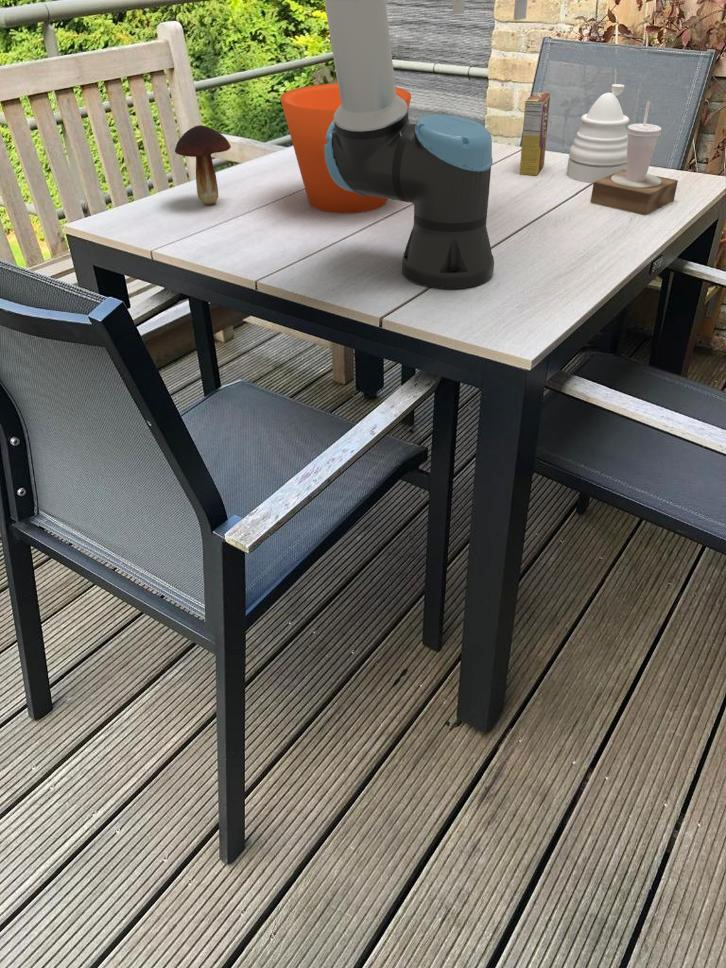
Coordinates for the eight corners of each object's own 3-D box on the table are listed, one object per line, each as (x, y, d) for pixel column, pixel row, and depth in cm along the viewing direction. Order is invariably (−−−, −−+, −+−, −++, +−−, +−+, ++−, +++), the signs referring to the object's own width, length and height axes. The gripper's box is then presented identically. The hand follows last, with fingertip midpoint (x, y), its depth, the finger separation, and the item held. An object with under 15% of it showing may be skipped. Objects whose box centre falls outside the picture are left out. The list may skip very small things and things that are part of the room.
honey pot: (608, 165, 188) (622, 78, 177) (637, 180, 178) (653, 89, 167) (556, 169, 185) (567, 82, 175) (583, 186, 175) (596, 94, 165)
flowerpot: (267, 214, 162) (259, 106, 150) (311, 179, 181) (307, 80, 170) (390, 225, 156) (391, 113, 144) (421, 187, 175) (425, 86, 164)
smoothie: (648, 174, 166) (663, 99, 158) (654, 184, 161) (669, 106, 153) (616, 174, 167) (629, 99, 158) (621, 183, 161) (634, 106, 153)
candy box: (525, 164, 189) (532, 91, 180) (544, 165, 188) (552, 92, 179) (517, 174, 182) (524, 100, 173) (537, 176, 181) (545, 101, 172)
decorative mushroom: (188, 215, 162) (177, 134, 153) (177, 199, 170) (166, 122, 162) (242, 208, 165) (234, 128, 157) (228, 192, 174) (220, 116, 165)
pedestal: (645, 215, 159) (649, 192, 157) (590, 202, 166) (593, 180, 163) (673, 200, 166) (678, 178, 164) (619, 189, 173) (623, 167, 170)
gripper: (575, -132, 132) (558, 19, 145) (452, -129, 146) (446, 8, 159) (550, -132, 128) (535, 24, 140) (425, -129, 142) (421, 12, 154)
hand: (488, 16), depth 150 cm, fingers open, 13 cm apart
